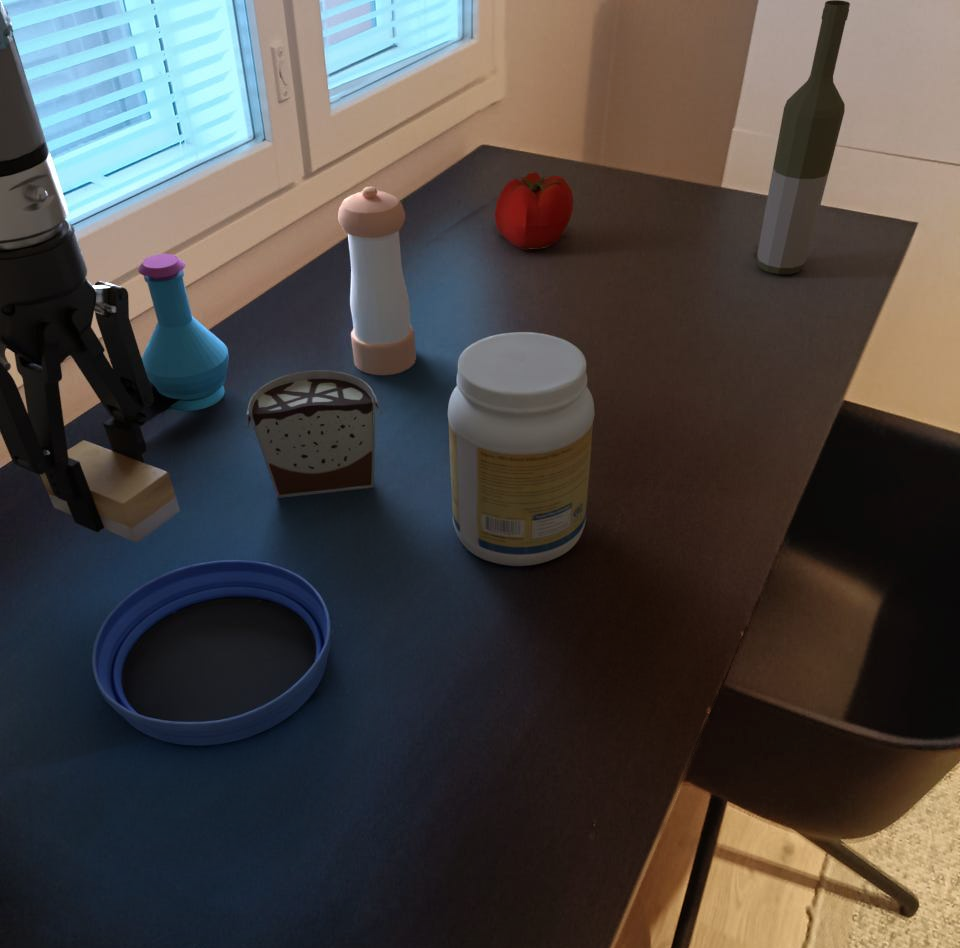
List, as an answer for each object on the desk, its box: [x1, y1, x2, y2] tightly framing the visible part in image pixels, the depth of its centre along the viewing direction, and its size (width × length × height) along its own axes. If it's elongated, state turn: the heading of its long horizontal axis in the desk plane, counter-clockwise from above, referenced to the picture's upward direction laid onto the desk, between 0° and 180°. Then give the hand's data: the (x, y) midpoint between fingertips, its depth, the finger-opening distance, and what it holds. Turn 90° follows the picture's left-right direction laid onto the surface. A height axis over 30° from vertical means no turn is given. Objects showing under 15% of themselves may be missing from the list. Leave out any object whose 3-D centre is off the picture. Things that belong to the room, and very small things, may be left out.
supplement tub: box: [447, 331, 596, 567], centre depth 80 cm, size 12×12×17 cm
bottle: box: [756, 0, 851, 275], centre depth 114 cm, size 7×7×30 cm
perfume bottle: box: [137, 253, 230, 412], centre depth 98 cm, size 9×9×15 cm
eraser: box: [39, 439, 181, 544], centre depth 78 cm, size 10×5×4 cm, turn 59°
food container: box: [245, 369, 383, 499], centre depth 89 cm, size 12×6×10 cm, turn 100°
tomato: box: [494, 171, 574, 249], centre depth 128 cm, size 11×11×9 cm
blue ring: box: [91, 559, 333, 747], centre depth 72 cm, size 18×18×4 cm
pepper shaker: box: [337, 186, 417, 376], centre depth 101 cm, size 7×7×19 cm
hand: (115, 506), depth 79 cm, fingers closed on eraser, 5 cm apart
